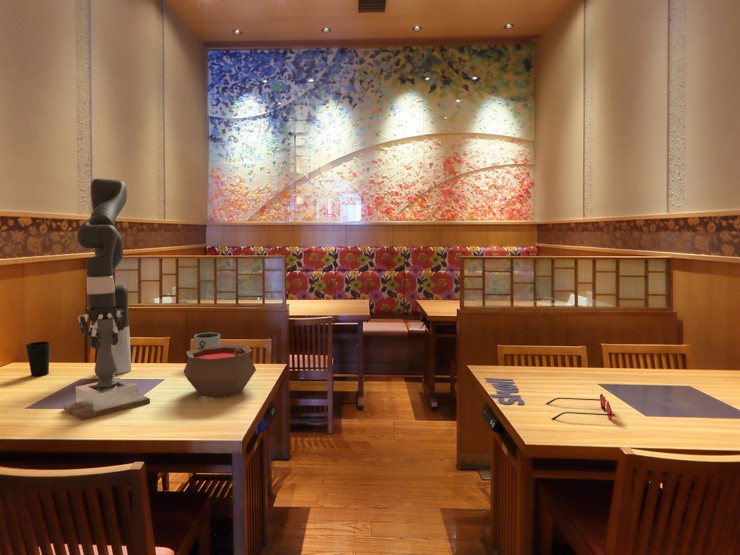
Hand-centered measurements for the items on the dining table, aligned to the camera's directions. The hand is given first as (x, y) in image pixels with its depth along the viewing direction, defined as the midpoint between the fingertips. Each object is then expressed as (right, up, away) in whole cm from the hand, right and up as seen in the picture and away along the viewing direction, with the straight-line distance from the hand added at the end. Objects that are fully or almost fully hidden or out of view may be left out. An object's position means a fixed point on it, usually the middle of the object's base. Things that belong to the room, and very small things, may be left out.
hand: (104, 346), depth 164 cm
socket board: (0, -19, +2) cm, 19 cm away
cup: (-44, -16, +40) cm, 62 cm away
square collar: (0, -17, +1) cm, 17 cm away
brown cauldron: (+31, -17, +16) cm, 39 cm away
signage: (+125, -17, +12) cm, 126 cm away
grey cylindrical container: (+16, -14, +53) cm, 57 cm away
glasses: (+141, -18, -10) cm, 142 cm away
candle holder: (0, -17, +1) cm, 17 cm away
